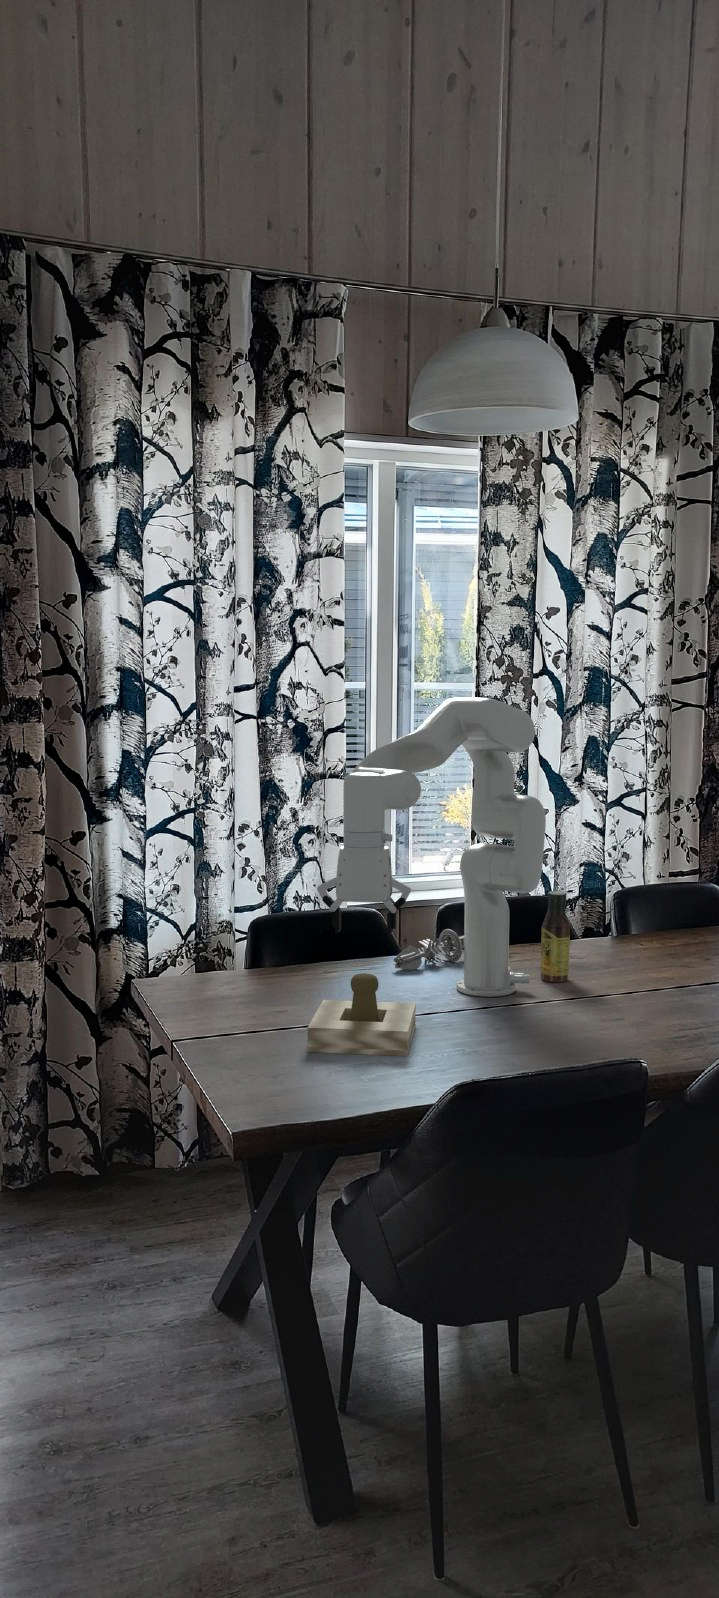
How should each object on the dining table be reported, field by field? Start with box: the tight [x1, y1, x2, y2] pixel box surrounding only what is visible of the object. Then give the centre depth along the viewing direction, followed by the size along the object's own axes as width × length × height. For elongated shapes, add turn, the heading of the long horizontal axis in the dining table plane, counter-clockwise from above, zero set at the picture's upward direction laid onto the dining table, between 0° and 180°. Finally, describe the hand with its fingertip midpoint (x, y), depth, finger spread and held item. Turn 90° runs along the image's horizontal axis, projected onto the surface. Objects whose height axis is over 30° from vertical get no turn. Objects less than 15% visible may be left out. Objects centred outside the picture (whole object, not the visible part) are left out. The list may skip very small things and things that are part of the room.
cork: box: [350, 972, 380, 1022], centre depth 216 cm, size 6×6×11 cm
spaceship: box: [392, 928, 464, 971], centre depth 274 cm, size 8×35×8 cm
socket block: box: [307, 999, 417, 1057], centre depth 216 cm, size 18×18×4 cm
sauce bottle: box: [539, 890, 571, 983], centre depth 257 cm, size 6×6×20 cm
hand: (363, 932), depth 214 cm, fingers open, 9 cm apart
